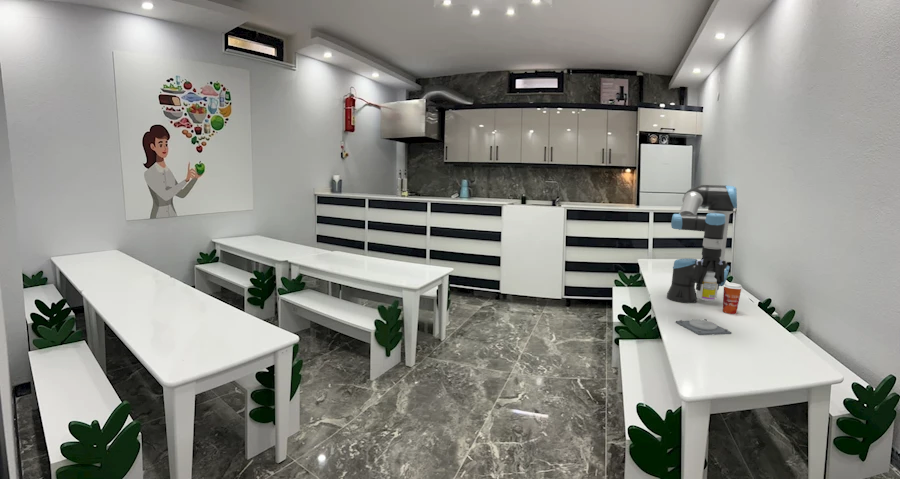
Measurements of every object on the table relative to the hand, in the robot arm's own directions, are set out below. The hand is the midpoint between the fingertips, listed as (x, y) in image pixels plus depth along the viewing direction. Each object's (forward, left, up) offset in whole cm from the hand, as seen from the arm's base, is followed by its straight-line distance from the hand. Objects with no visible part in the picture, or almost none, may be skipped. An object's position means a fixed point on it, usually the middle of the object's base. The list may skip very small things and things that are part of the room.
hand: (706, 297), depth 201 cm
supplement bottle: (0, 0, -1) cm, 1 cm away
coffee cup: (-20, +31, -15) cm, 40 cm away
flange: (0, 0, -15) cm, 15 cm away
